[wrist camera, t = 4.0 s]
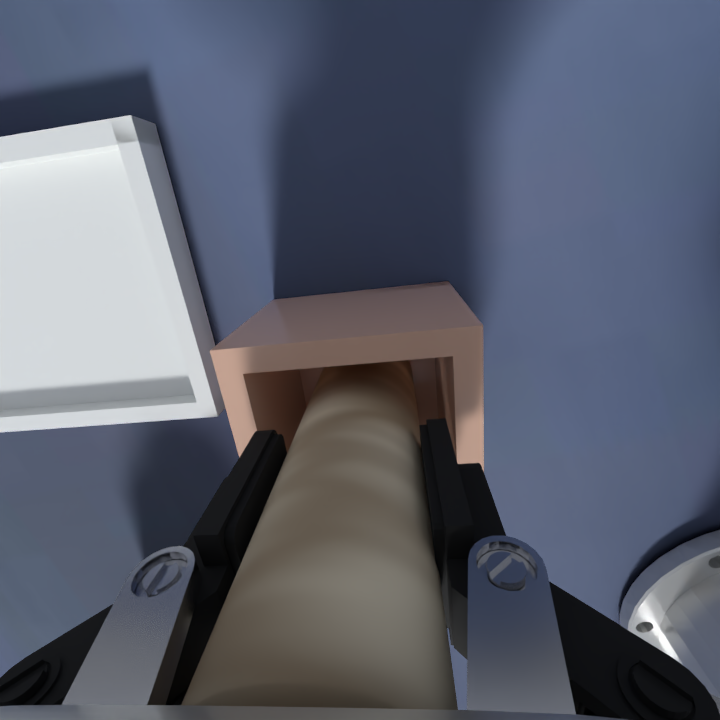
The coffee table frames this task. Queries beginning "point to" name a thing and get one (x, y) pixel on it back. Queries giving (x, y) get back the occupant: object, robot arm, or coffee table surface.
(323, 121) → the coffee table surface
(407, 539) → the dowel
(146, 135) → the tray
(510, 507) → the coffee table surface
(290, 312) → the pen pot
